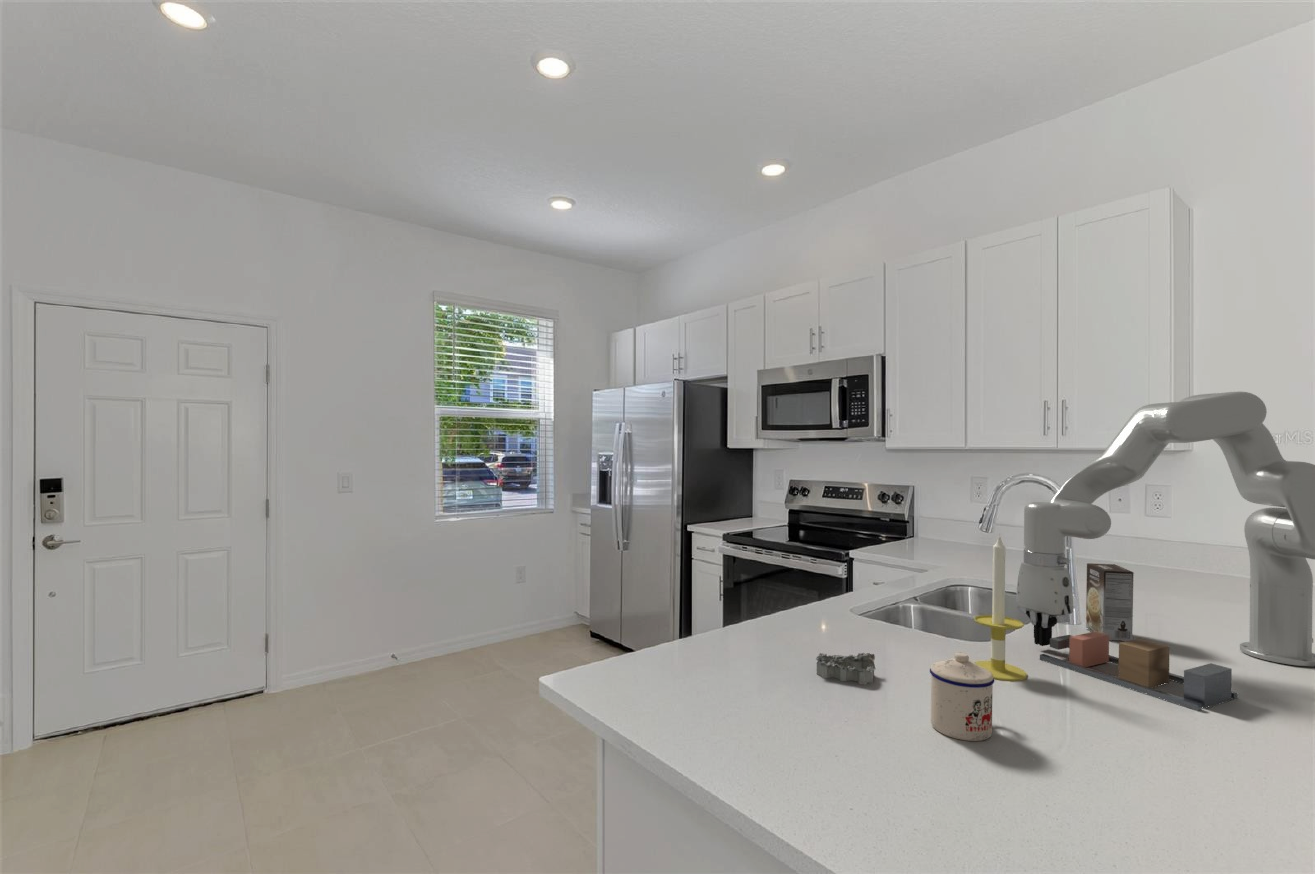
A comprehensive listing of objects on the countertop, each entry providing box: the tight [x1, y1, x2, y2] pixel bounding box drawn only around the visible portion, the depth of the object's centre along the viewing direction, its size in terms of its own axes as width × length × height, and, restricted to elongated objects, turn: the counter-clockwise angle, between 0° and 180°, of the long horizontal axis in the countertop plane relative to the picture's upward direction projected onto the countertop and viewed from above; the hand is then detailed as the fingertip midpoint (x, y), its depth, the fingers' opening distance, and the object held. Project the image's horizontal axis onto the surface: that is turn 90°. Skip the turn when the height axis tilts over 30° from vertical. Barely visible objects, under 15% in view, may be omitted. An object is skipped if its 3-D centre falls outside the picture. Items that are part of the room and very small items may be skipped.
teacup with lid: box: [929, 652, 995, 742], centre depth 99 cm, size 12×9×12 cm
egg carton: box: [815, 652, 876, 685], centre depth 121 cm, size 11×8×4 cm
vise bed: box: [1039, 653, 1238, 712], centre depth 122 cm, size 13×27×6 cm, turn 26°
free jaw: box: [1049, 631, 1110, 668], centre depth 131 cm, size 9×7×6 cm
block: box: [1118, 638, 1171, 688], centre depth 120 cm, size 7×5×7 cm
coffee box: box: [1085, 563, 1135, 642], centre depth 148 cm, size 9×6×16 cm
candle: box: [973, 533, 1028, 682], centre depth 124 cm, size 10×10×27 cm
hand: (1042, 644), depth 137 cm, fingers closed
